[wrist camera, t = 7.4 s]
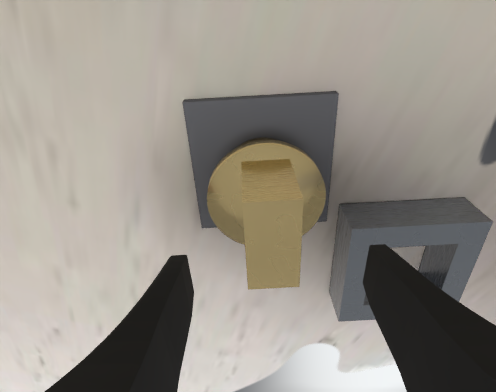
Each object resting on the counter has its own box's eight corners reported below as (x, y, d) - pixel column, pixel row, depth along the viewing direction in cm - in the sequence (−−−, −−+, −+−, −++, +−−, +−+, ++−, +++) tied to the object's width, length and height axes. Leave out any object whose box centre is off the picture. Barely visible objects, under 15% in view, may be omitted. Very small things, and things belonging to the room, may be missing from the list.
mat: (335, 91, 19) (338, 93, 18) (324, 216, 23) (326, 221, 23) (184, 99, 19) (182, 102, 18) (202, 223, 23) (201, 228, 23)
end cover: (315, 120, 19) (356, 178, 12) (310, 211, 22) (339, 295, 16) (206, 126, 19) (189, 188, 12) (216, 216, 22) (208, 302, 16)
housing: (464, 197, 23) (493, 221, 20) (433, 286, 27) (453, 315, 25) (339, 204, 23) (352, 229, 20) (329, 291, 27) (338, 321, 25)
